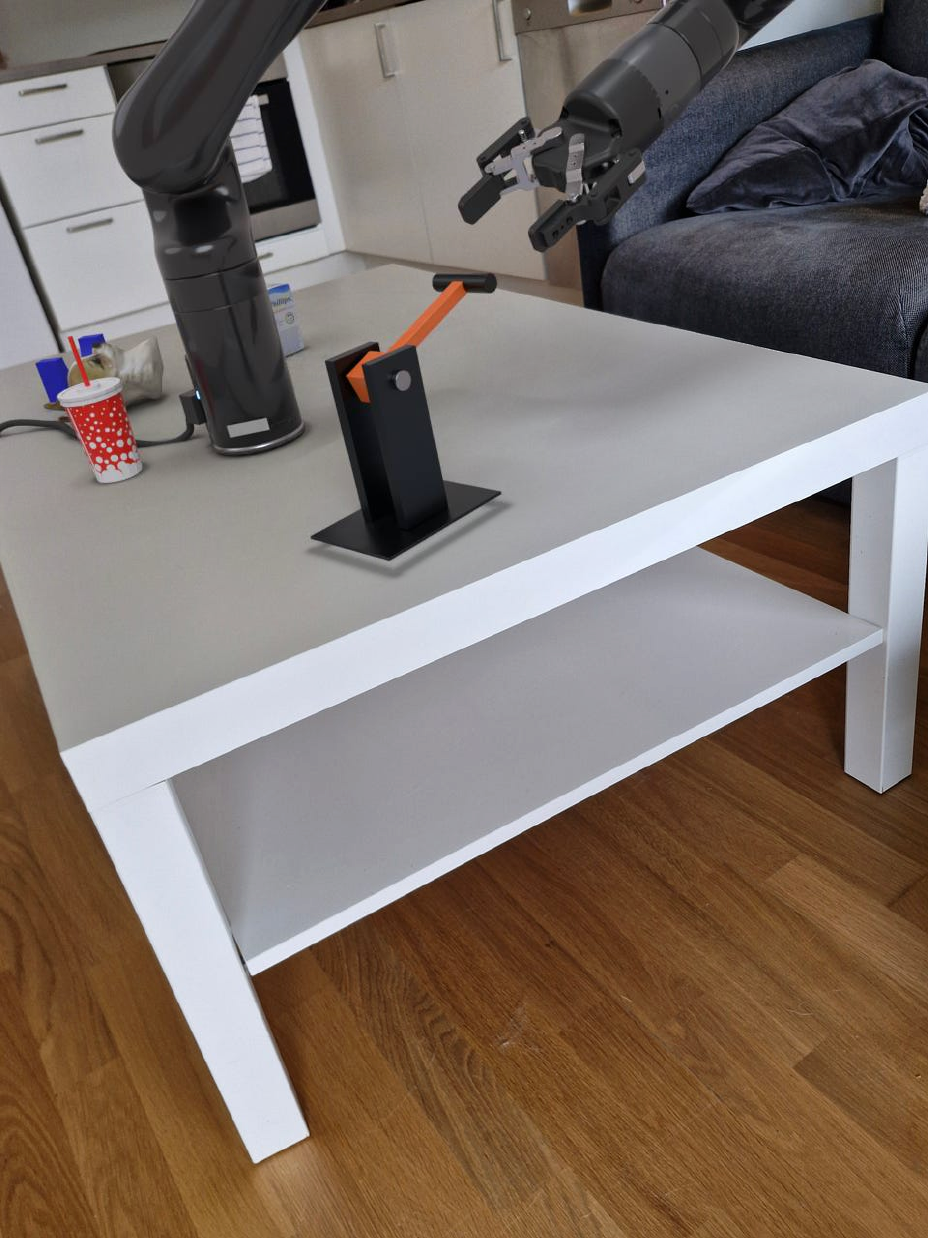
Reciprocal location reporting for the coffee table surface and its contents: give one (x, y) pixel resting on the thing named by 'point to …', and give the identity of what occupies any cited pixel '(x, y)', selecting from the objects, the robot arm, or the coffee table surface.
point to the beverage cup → (102, 425)
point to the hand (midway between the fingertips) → (497, 228)
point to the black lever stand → (392, 458)
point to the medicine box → (285, 318)
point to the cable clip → (62, 368)
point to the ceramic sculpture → (120, 371)
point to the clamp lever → (429, 316)
